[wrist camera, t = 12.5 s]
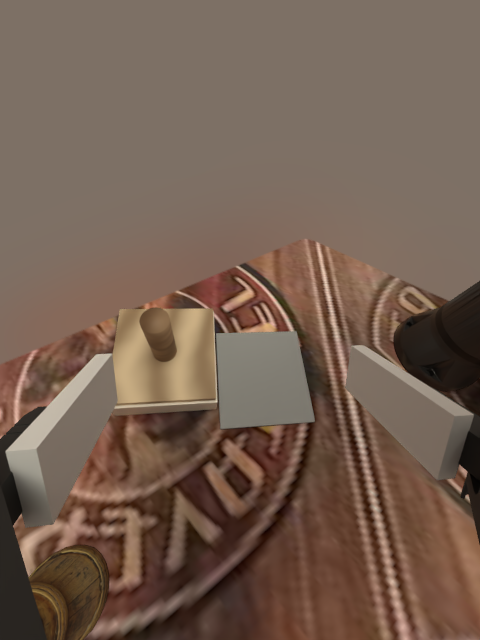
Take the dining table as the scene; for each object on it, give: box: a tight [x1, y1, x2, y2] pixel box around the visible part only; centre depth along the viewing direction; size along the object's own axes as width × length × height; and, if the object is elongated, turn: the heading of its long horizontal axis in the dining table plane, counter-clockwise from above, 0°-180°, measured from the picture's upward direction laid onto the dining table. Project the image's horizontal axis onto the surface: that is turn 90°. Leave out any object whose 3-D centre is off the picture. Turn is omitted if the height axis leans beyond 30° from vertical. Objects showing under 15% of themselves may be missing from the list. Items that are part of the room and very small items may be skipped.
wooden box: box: [112, 311, 217, 416], centre depth 43 cm, size 15×15×5 cm
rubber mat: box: [216, 331, 315, 429], centre depth 45 cm, size 15×16×1 cm
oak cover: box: [113, 308, 216, 406], centre depth 36 cm, size 14×14×11 cm
